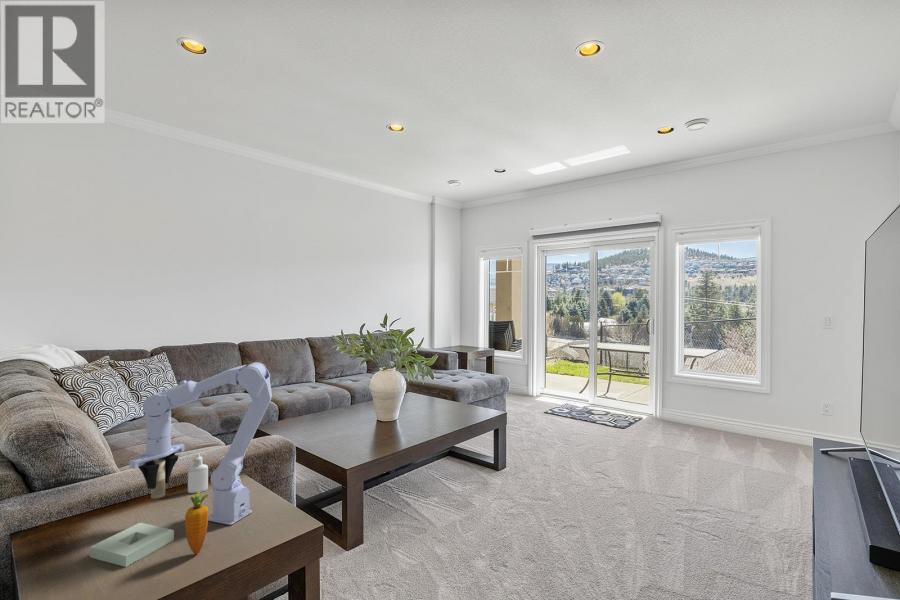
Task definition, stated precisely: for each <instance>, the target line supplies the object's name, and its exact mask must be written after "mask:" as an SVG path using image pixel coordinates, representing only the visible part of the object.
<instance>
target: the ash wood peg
mask: <svg viewBox="0 0 900 600" xmlns="http://www.w3.org/2000/svg"><path fill="white" fill-rule="evenodd" d="M154 462H155V464H159V468H158V472H157V478H156V488H154V489H150V499H159V498H162V497H165V495H166V483H165V460H164V459H161V460H155V461H154Z"/></svg>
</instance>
